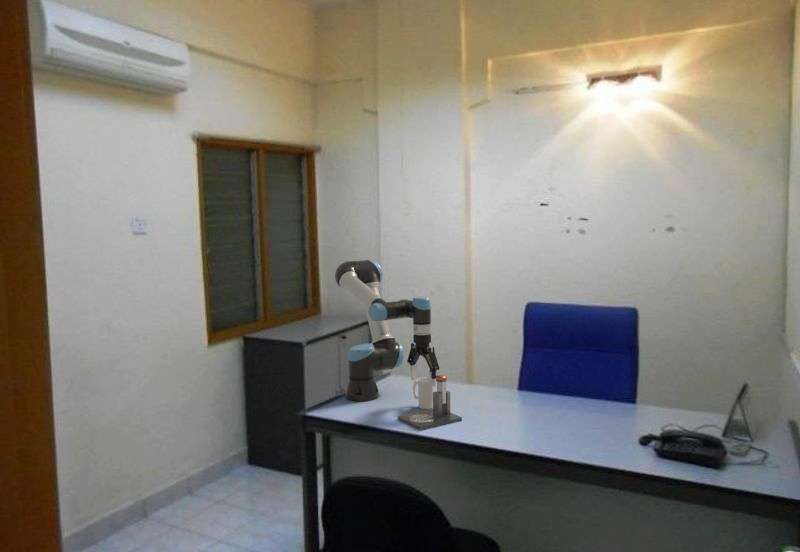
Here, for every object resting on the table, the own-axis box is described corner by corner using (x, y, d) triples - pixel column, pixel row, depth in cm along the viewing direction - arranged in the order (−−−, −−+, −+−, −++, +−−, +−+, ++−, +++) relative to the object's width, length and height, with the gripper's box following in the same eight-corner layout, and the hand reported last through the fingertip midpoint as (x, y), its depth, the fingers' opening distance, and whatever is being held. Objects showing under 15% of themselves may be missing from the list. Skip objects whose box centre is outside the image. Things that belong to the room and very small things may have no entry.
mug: (437, 406, 258) (436, 378, 257) (428, 410, 252) (428, 382, 251) (417, 402, 264) (417, 375, 263) (408, 406, 258) (408, 378, 257)
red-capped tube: (434, 402, 244) (433, 376, 243) (442, 400, 246) (442, 374, 245) (440, 404, 240) (440, 378, 239) (449, 402, 242) (449, 376, 241)
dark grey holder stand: (397, 419, 242) (397, 394, 241) (437, 410, 252) (437, 386, 252) (420, 430, 228) (420, 404, 227) (461, 420, 239) (461, 395, 238)
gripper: (398, 330, 264) (399, 378, 265) (432, 338, 243) (433, 390, 244) (412, 329, 268) (413, 376, 269) (447, 336, 247) (448, 387, 248)
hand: (423, 383), depth 257 cm, fingers open, 13 cm apart
